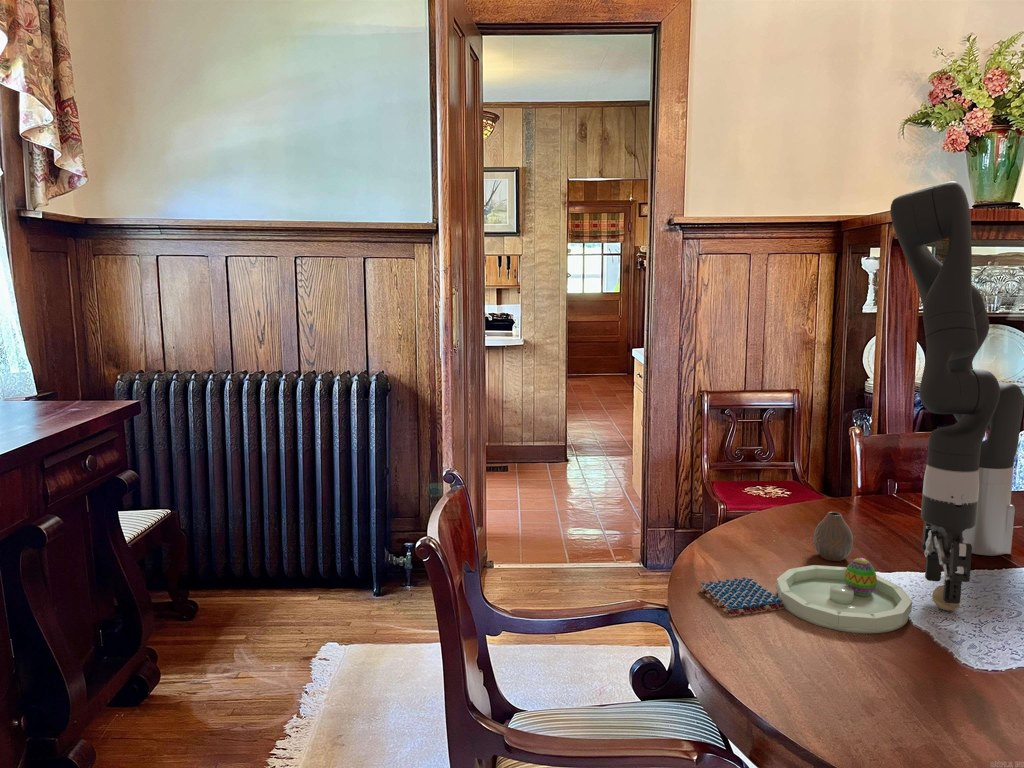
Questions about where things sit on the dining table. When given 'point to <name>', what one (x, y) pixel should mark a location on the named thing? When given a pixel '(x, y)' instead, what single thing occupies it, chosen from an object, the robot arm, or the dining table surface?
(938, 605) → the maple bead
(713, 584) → the woven mat
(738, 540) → the dining table surface
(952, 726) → the dining table surface
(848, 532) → the vase
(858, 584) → the egg
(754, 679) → the dining table surface
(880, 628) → the groove dish
